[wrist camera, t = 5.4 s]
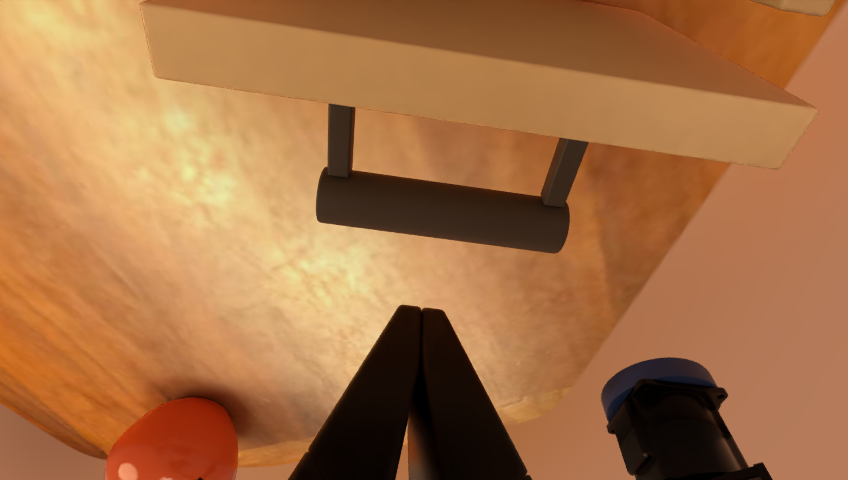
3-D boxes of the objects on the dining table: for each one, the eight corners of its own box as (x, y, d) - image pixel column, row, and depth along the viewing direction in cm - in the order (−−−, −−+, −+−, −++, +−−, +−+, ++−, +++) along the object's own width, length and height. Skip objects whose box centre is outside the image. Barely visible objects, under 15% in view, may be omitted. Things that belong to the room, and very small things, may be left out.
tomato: (263, 443, 33) (221, 573, 27) (162, 438, 33) (96, 566, 27) (243, 381, 29) (186, 518, 22) (127, 376, 29) (37, 511, 23)
